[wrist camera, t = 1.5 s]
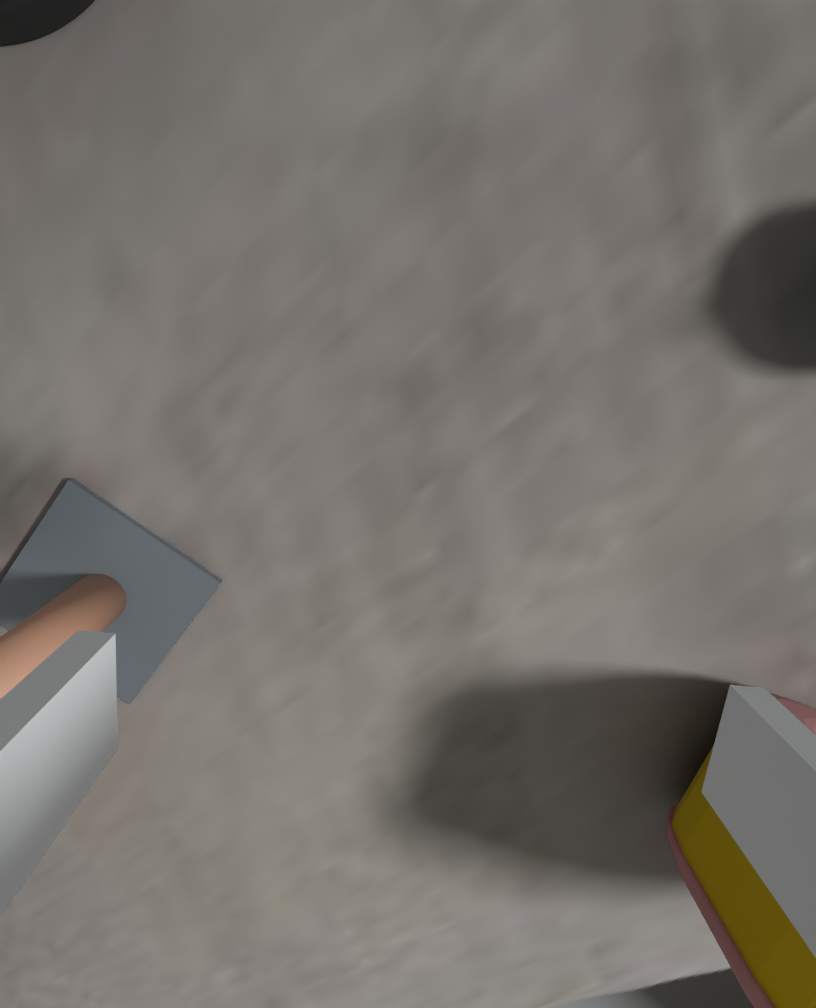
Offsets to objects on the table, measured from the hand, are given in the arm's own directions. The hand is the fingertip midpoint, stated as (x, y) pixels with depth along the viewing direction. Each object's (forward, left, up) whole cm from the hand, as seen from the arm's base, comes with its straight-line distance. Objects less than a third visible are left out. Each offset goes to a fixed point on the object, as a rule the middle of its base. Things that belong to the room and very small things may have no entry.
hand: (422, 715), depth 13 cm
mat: (-10, -16, -22) cm, 29 cm away
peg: (-10, -16, -22) cm, 29 cm away
